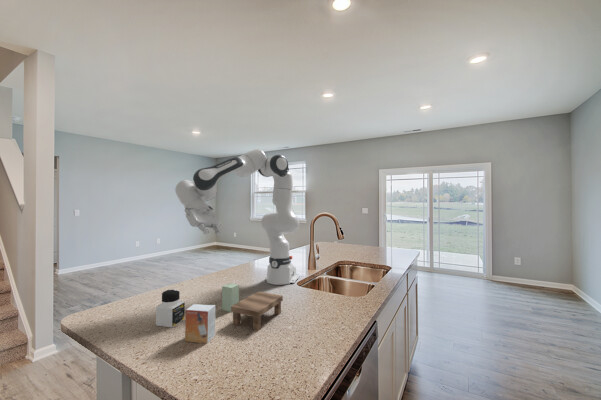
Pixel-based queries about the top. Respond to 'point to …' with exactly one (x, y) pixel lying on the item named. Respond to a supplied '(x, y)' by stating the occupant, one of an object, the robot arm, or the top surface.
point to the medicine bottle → (170, 309)
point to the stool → (256, 307)
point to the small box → (200, 323)
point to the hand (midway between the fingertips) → (213, 233)
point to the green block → (229, 296)
